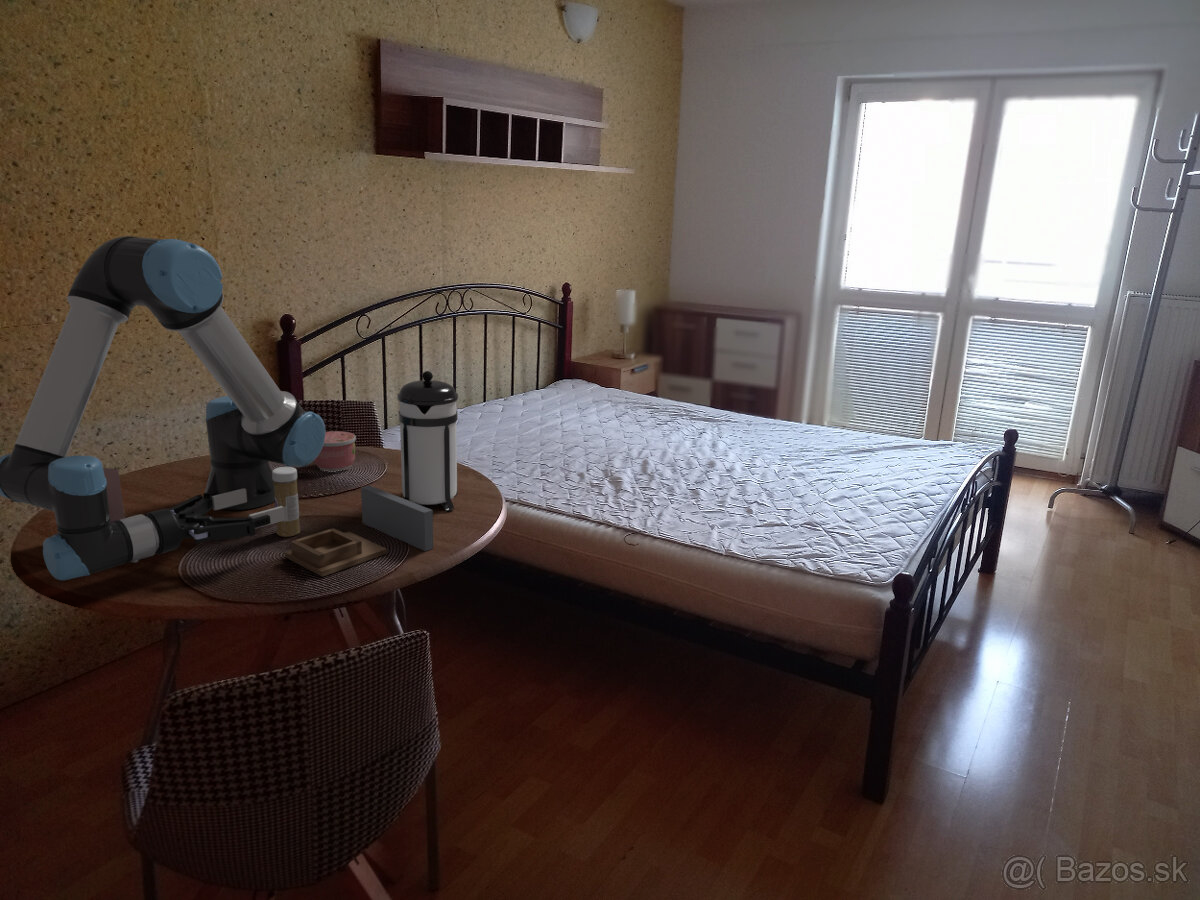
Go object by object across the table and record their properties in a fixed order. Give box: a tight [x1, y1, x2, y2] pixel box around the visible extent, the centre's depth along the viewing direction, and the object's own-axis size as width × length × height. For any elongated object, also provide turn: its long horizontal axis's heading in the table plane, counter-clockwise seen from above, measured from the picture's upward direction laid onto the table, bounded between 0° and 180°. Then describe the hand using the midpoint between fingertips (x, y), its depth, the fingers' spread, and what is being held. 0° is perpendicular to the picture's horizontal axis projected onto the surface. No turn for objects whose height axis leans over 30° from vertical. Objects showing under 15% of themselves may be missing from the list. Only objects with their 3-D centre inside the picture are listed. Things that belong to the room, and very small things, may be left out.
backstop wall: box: [360, 484, 434, 552], centre depth 165 cm, size 2×20×8 cm, turn 51°
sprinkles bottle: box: [272, 466, 301, 538], centre depth 164 cm, size 5×5×13 cm
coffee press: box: [397, 370, 459, 512], centre depth 182 cm, size 17×16×30 cm
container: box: [313, 430, 357, 471], centre depth 204 cm, size 10×10×8 cm
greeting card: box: [103, 467, 126, 522], centre depth 155 cm, size 11×7×15 cm, turn 50°
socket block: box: [284, 527, 388, 577], centre depth 156 cm, size 14×12×4 cm
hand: (264, 503), depth 159 cm, fingers open, 13 cm apart
